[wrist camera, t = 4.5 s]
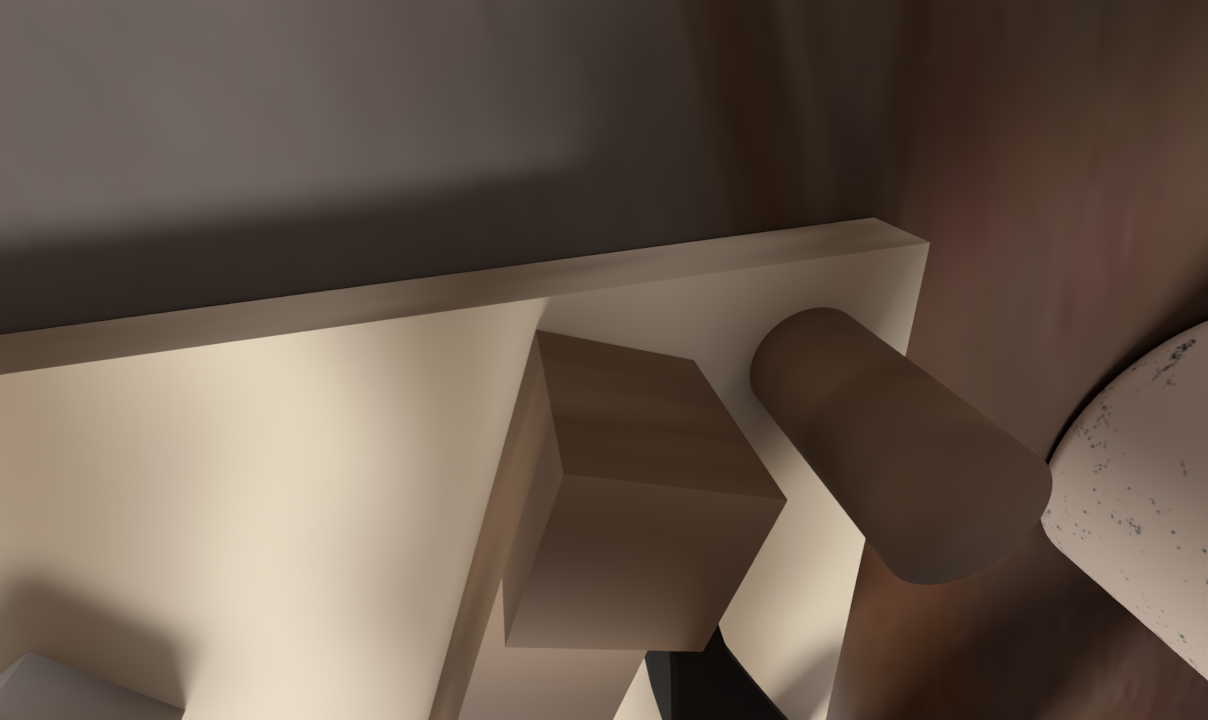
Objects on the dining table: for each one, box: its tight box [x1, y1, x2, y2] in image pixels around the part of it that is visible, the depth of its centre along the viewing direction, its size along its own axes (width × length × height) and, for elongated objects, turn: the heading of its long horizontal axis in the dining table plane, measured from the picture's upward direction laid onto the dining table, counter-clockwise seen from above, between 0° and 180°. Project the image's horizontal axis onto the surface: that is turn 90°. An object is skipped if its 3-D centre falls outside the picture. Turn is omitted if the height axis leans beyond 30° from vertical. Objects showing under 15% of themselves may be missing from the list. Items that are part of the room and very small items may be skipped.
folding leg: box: [429, 330, 788, 720], centre depth 11 cm, size 14×3×4 cm, turn 163°
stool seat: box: [0, 218, 1053, 720], centre depth 12 cm, size 18×17×6 cm
